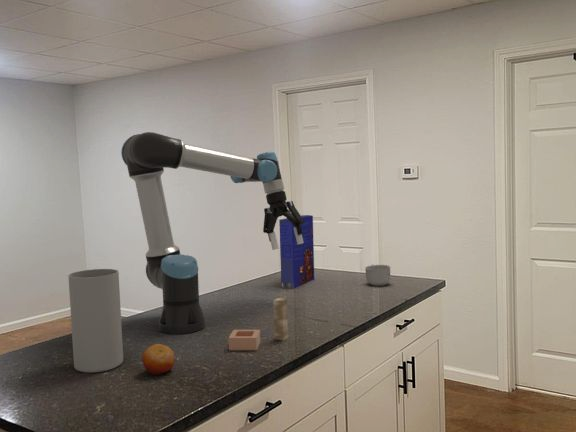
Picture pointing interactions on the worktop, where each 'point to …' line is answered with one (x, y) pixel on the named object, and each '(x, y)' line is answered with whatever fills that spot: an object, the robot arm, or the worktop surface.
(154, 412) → the worktop surface
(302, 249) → the cereal box
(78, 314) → the cylinder vase
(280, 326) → the beige tall square post
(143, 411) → the worktop surface
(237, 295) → the worktop surface
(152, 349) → the fruit
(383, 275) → the teacup
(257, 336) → the orange-brown square frame
